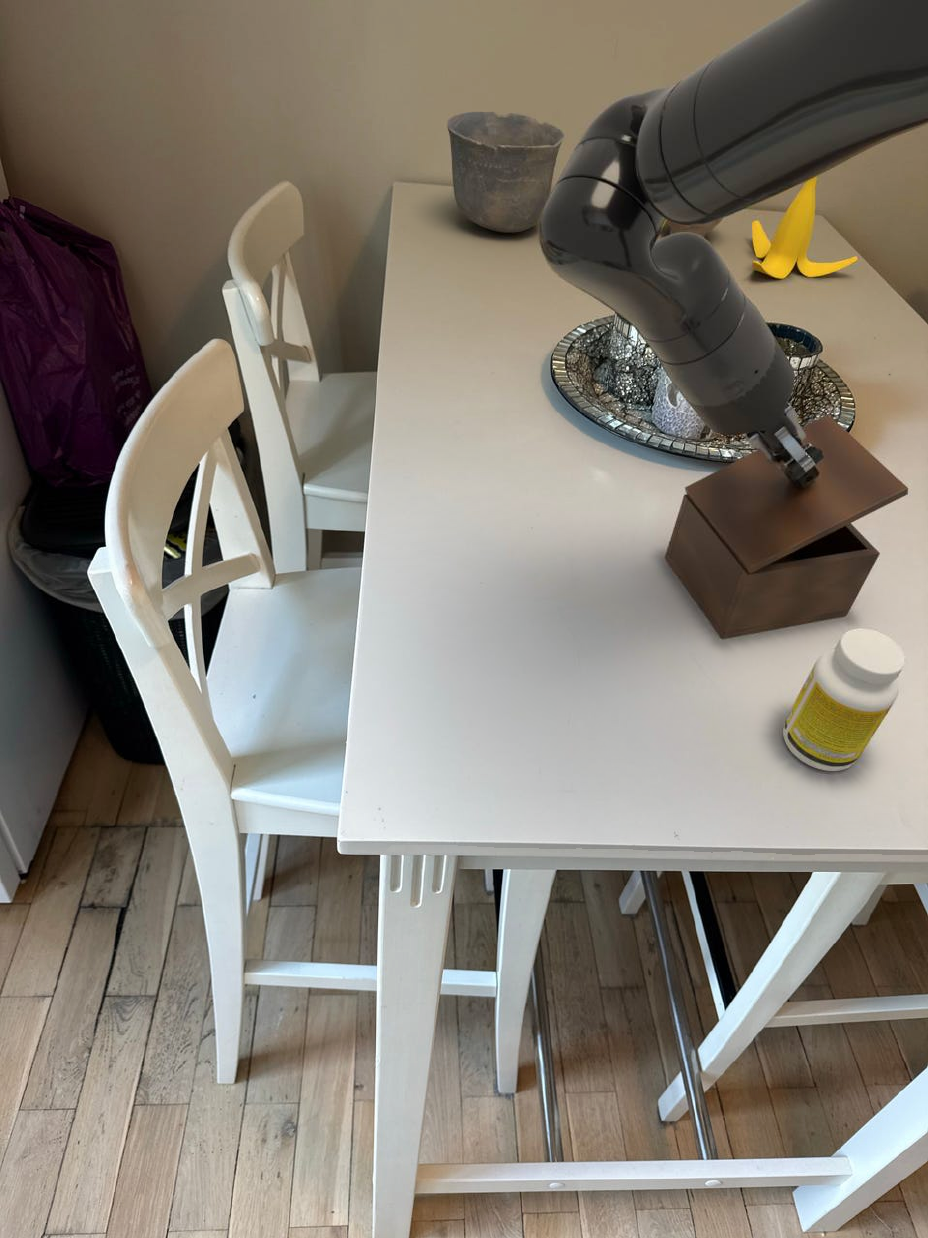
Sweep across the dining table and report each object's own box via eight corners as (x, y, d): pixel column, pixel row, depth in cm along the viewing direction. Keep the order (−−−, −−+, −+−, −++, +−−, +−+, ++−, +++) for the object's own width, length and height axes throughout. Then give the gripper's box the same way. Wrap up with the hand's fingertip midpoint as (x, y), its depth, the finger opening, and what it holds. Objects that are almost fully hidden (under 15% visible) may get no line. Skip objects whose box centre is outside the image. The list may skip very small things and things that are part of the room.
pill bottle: (867, 776, 70) (929, 685, 62) (791, 771, 70) (844, 679, 62) (844, 716, 74) (900, 623, 67) (773, 711, 74) (820, 617, 66)
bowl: (474, 254, 137) (483, 150, 127) (423, 213, 148) (427, 114, 137) (568, 240, 144) (584, 140, 134) (513, 202, 155) (523, 106, 144)
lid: (828, 420, 81) (828, 413, 81) (908, 494, 73) (908, 487, 73) (685, 493, 82) (684, 487, 82) (749, 574, 74) (748, 568, 74)
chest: (781, 539, 91) (807, 477, 86) (846, 616, 83) (880, 553, 78) (664, 557, 88) (684, 494, 82) (721, 639, 80) (747, 575, 74)
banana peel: (750, 239, 151) (782, 132, 139) (852, 277, 143) (895, 167, 131) (698, 262, 142) (728, 150, 130) (804, 305, 133) (846, 189, 122)
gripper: (817, 369, 60) (889, 494, 71) (720, 284, 68) (799, 408, 80) (726, 444, 62) (811, 553, 74) (644, 352, 71) (732, 463, 82)
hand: (805, 477), depth 77 cm, fingers closed
